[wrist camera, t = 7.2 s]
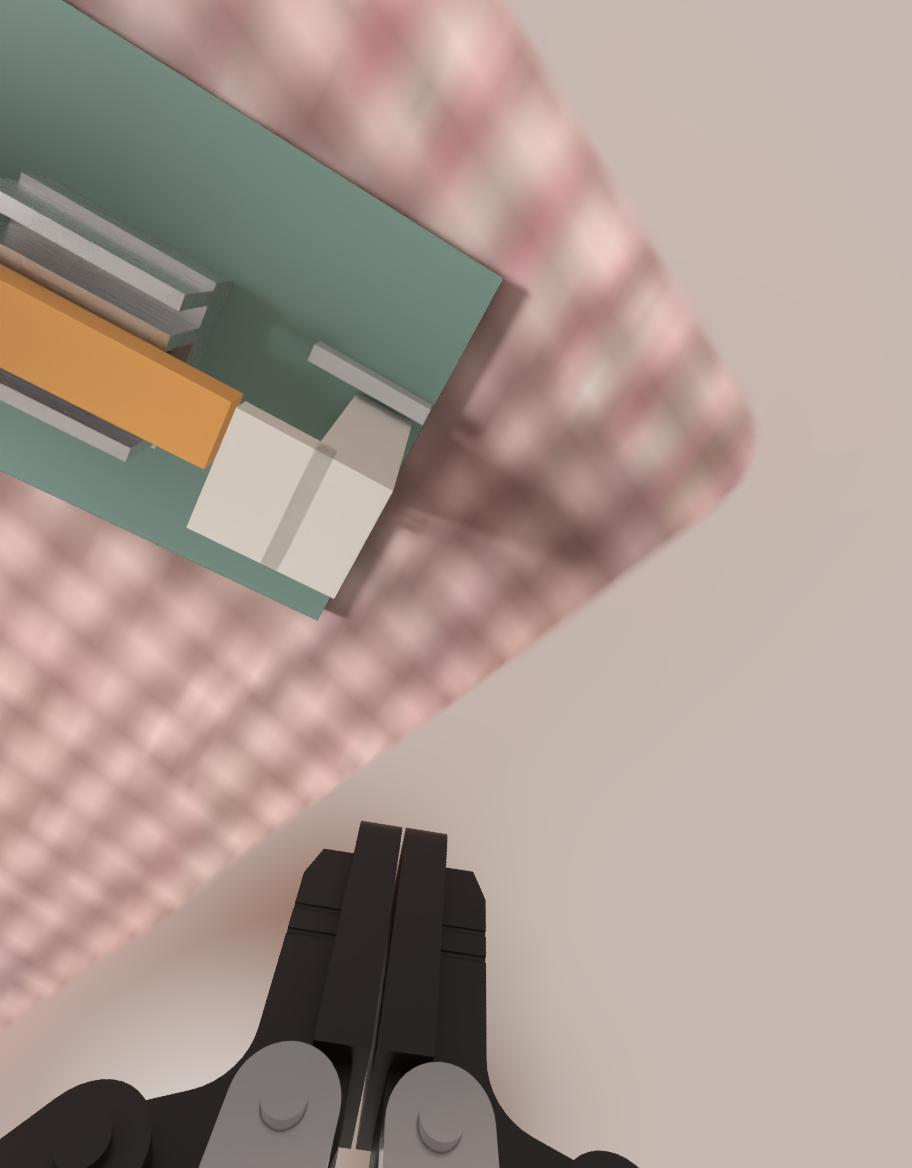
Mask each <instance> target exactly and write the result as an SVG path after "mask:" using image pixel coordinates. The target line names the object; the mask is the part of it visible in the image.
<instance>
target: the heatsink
mask: <svg viewBox="0 0 912 1168" xmlns="http://www.w3.org/2000/svg"><path fill="white" fill-rule="evenodd" d="M0 213H2V214H4V215H6V216H8V217H9V218H10V222H9V223H3V222H0V264H1V265H3V266H5V267H7V268H9V269H11V270H12V271H14V272H16V273H18V274H20V275H22V276H24V277H25V278H27V279H29V280H31V281H33V282H35V283H37V284H39V285H40V286H42V287H44V288H46V289H48V290H50V291H52V292H54V293H55V294H57V295H59V296H61V297H63V298H65V299H67V300H69V301H70V302H72V303H74V304H76V305H78V306H80V307H82V308H84V309H85V310H87V311H89V312H91V313H93V314H95V315H97V316H99V317H100V318H102V319H104V320H106V321H108V322H110V323H112V324H113V325H115V326H117V327H119V328H121V329H123V330H125V331H127V332H128V333H130V334H132V335H134V336H136V337H138V338H140V339H142V340H143V341H145V342H147V343H149V344H151V345H153V346H155V347H157V348H158V349H160V350H162V351H164V352H166V353H168V354H170V355H172V356H173V357H175V358H177V359H179V360H181V361H183V362H185V363H187V364H188V365H190V366H192V367H194V368H196V369H198V370H200V368H201V365H202V363H203V360H204V358H205V355H206V352H207V350H208V347H209V345H210V342H211V339H212V337H213V334H214V331H215V329H216V326H217V324H218V321H219V318H220V316H221V313H222V311H223V308H224V305H225V303H226V300H227V297H228V295H229V292H230V290H231V287H232V284H233V282H234V281H233V280H231V279H229V278H228V277H226V276H224V275H222V274H221V273H219V272H217V271H215V270H214V269H212V268H210V267H208V266H207V265H205V264H203V263H201V262H200V261H198V260H196V259H194V258H193V257H191V256H189V255H187V254H186V253H184V252H182V251H180V250H179V249H177V248H175V247H173V246H172V245H170V244H168V243H166V242H165V241H163V240H161V239H160V238H158V237H156V236H154V235H153V234H151V233H149V232H147V231H146V230H144V229H142V228H140V227H139V226H137V225H135V224H133V223H132V222H130V221H128V220H126V219H125V218H123V217H121V216H119V215H118V214H116V213H114V212H112V211H111V210H109V209H107V208H105V207H104V206H102V205H100V204H98V203H97V202H95V201H93V200H91V199H90V198H88V197H86V196H85V195H83V194H81V193H79V192H78V191H76V190H74V189H72V188H71V187H69V186H67V185H65V184H64V183H62V182H60V181H58V180H57V179H55V178H50V177H45V176H39V175H34V174H29V173H24V172H21V176H20V180H19V181H18V180H12V179H6V178H0ZM0 400H1V401H3V402H5V403H7V404H9V405H11V406H13V407H15V408H17V409H19V410H21V411H23V412H25V413H27V414H29V415H31V416H33V417H36V418H38V419H40V420H42V421H44V422H46V423H48V424H50V425H52V426H54V427H56V428H58V429H60V430H62V431H64V432H66V433H68V434H70V435H72V436H74V437H76V438H78V439H80V440H82V441H84V442H86V443H88V444H90V445H92V446H94V447H96V448H98V449H100V450H102V451H104V452H106V453H108V454H110V455H112V456H114V457H116V458H118V459H120V460H122V461H124V462H126V461H128V460H130V459H131V458H133V457H135V456H136V455H138V454H139V453H141V452H143V451H144V450H146V449H147V448H149V447H151V448H153V449H155V448H157V447H158V446H156V445H154V444H152V443H150V442H148V441H146V440H144V439H142V438H140V437H138V436H136V435H134V434H132V433H130V432H128V431H126V430H124V429H122V428H120V427H118V426H116V425H114V424H112V423H110V422H108V421H106V420H104V419H102V418H100V417H98V416H96V415H94V414H92V413H90V412H88V411H86V410H84V409H82V408H80V407H78V406H76V405H74V404H72V403H70V402H68V401H66V400H64V399H62V398H60V397H58V396H56V395H54V394H52V393H50V392H48V391H46V390H44V389H42V388H40V387H38V386H36V385H34V384H32V383H30V382H28V381H26V380H24V379H22V378H20V377H18V376H16V375H14V374H12V373H10V372H8V371H6V370H4V369H2V368H0Z"/></svg>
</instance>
